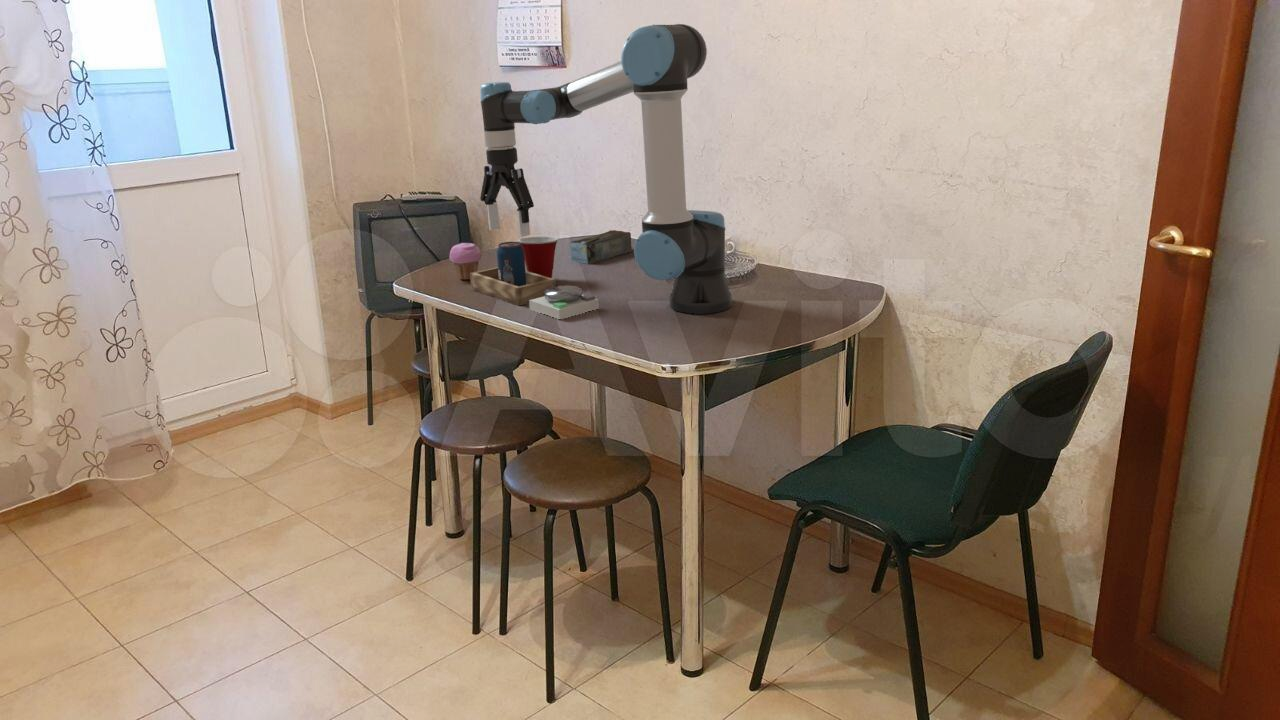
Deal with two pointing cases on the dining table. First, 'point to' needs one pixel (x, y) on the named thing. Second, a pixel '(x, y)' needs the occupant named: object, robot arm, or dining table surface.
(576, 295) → the shiny metal disc
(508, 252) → the soda can
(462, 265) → the cupcake
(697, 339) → the dining table surface
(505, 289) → the trough
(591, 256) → the beverage carton
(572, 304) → the white flat block
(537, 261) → the plastic cup
